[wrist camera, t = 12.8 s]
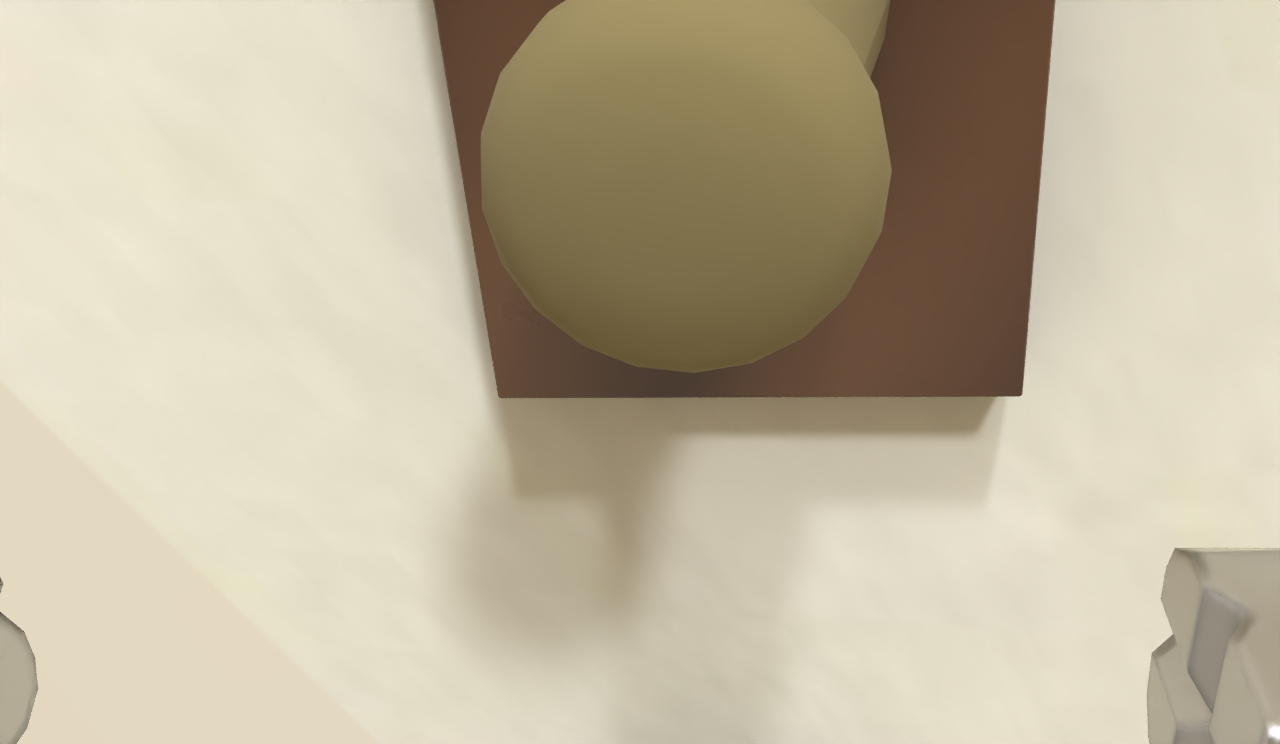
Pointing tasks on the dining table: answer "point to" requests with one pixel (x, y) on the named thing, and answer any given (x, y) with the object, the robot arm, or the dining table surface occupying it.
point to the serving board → (903, 254)
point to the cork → (689, 172)
